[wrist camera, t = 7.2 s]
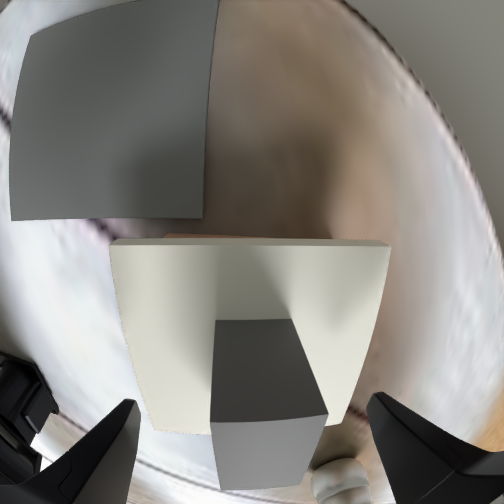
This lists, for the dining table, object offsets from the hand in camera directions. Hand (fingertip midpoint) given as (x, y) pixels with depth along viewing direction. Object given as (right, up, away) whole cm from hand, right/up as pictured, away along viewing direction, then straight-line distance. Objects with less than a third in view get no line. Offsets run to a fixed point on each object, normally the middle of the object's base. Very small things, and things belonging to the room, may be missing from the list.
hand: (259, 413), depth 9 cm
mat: (-9, +14, +3) cm, 17 cm away
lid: (0, +1, +4) cm, 4 cm away
